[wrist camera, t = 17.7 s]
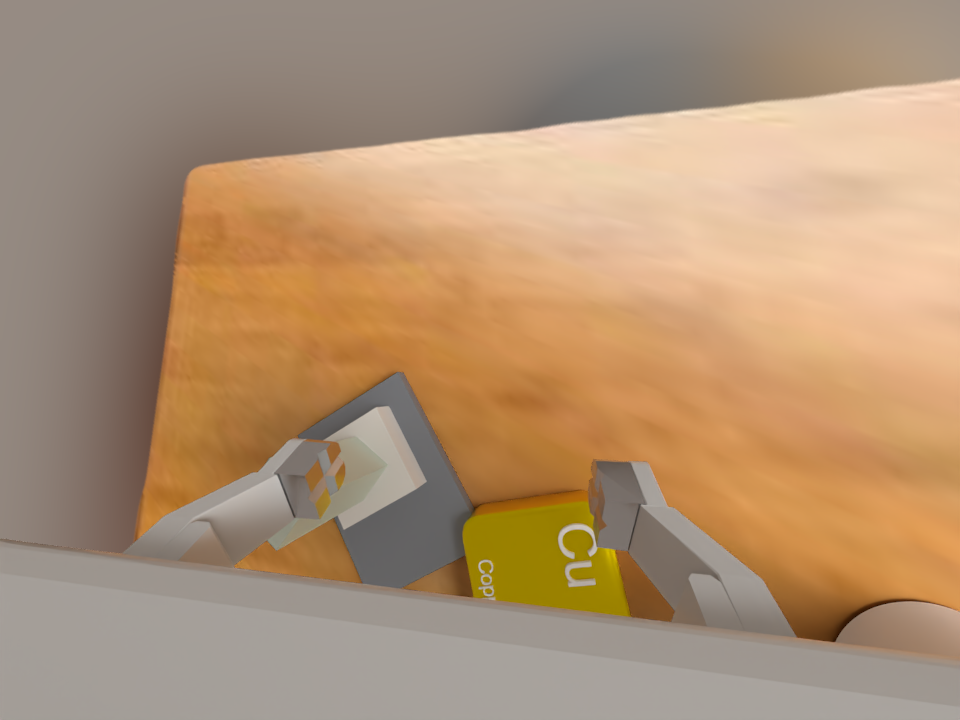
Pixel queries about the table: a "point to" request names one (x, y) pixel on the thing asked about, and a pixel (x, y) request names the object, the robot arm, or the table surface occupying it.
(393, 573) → the slate board
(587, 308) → the table surface
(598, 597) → the element tile
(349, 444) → the sage block
